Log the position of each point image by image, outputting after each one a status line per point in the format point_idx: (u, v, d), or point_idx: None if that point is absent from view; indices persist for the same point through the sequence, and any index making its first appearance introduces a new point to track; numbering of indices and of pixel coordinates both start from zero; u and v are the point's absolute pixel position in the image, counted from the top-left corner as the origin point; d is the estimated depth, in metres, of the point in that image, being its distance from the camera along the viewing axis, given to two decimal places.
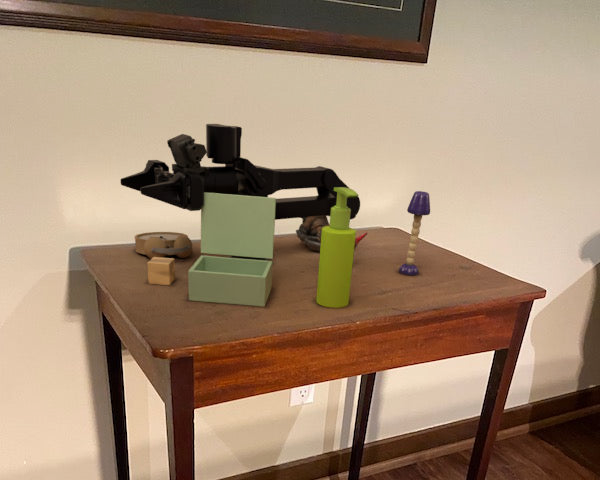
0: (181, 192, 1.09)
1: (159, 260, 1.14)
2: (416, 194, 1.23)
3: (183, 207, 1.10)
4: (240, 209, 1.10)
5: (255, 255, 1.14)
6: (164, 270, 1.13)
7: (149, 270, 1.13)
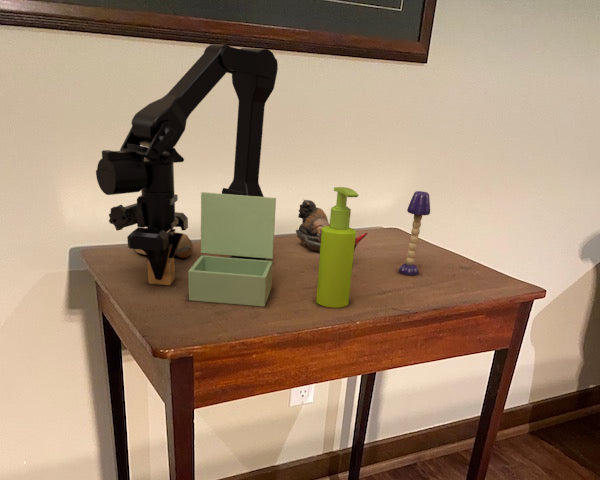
0: None
1: None
2: (416, 194, 1.23)
3: (166, 250, 1.08)
4: (240, 209, 1.10)
5: (255, 255, 1.14)
6: None
7: (149, 270, 1.13)
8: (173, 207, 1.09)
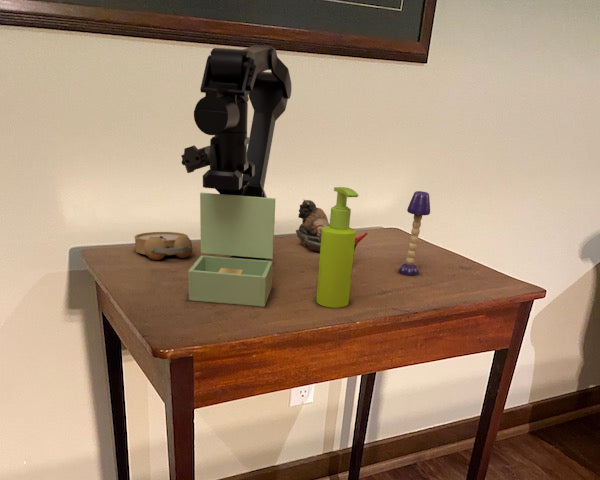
0: None
1: (230, 272, 1.08)
2: (416, 194, 1.23)
3: (241, 189, 1.09)
4: (240, 209, 1.10)
5: (255, 255, 1.14)
6: None
7: None
8: (245, 149, 1.08)
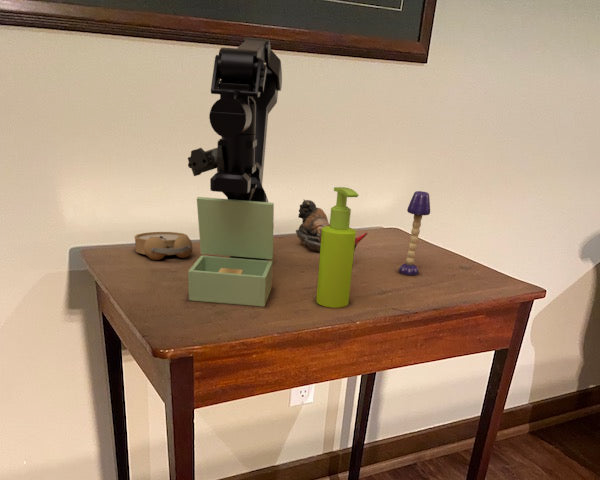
0: None
1: (230, 272, 1.08)
2: (416, 194, 1.23)
3: (249, 192, 1.06)
4: (238, 214, 1.08)
5: (255, 256, 1.14)
6: None
7: None
8: (253, 151, 1.06)
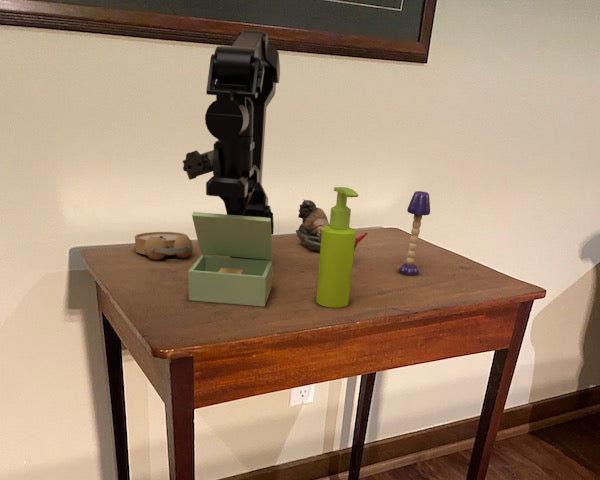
0: None
1: (230, 272, 1.08)
2: (416, 194, 1.23)
3: (246, 197, 1.03)
4: (235, 227, 1.06)
5: (255, 257, 1.14)
6: None
7: None
8: (251, 154, 1.02)
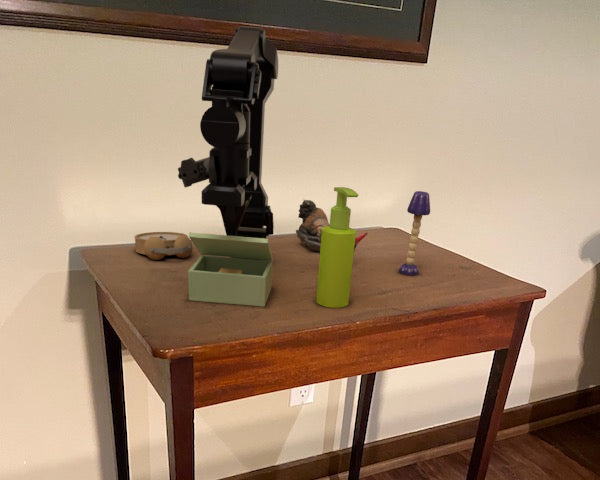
0: None
1: (230, 272, 1.08)
2: (416, 194, 1.23)
3: (243, 205, 1.00)
4: (233, 244, 1.06)
5: (255, 258, 1.14)
6: None
7: None
8: (248, 161, 1.00)
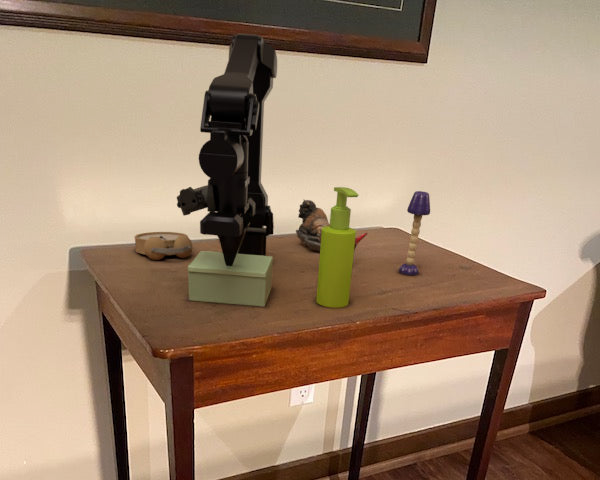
0: None
1: None
2: (416, 194, 1.23)
3: (241, 233, 1.01)
4: None
5: None
6: None
7: None
8: (246, 190, 1.00)
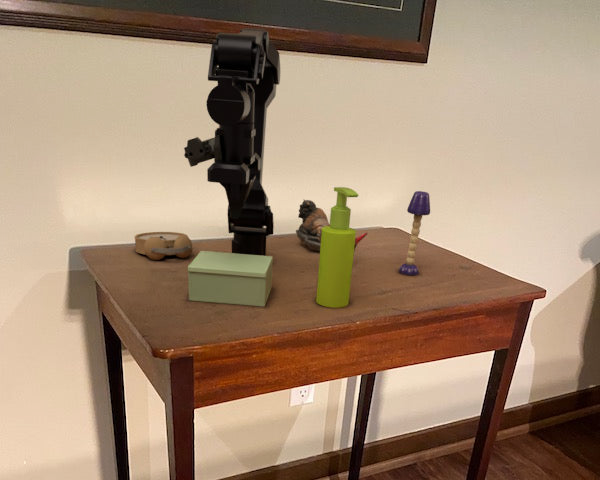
0: None
1: None
2: (416, 194, 1.23)
3: (248, 184, 1.03)
4: None
5: None
6: None
7: None
8: (252, 141, 1.02)
